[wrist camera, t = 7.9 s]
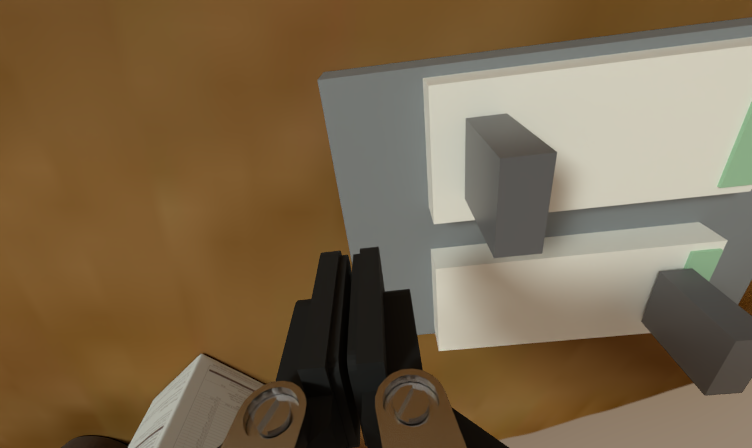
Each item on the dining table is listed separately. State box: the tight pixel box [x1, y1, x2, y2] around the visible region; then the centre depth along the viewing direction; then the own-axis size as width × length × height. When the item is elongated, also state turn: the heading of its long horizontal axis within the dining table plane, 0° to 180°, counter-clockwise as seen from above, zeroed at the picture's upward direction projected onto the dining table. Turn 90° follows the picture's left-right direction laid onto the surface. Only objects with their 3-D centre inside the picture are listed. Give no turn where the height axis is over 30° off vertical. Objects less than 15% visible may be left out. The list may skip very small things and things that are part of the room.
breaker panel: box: [318, 17, 752, 351], centre depth 21 cm, size 18×26×5 cm
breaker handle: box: [641, 268, 752, 395], centre depth 19 cm, size 4×2×5 cm, turn 7°
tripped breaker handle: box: [465, 113, 557, 258], centre depth 15 cm, size 4×2×5 cm, turn 7°
